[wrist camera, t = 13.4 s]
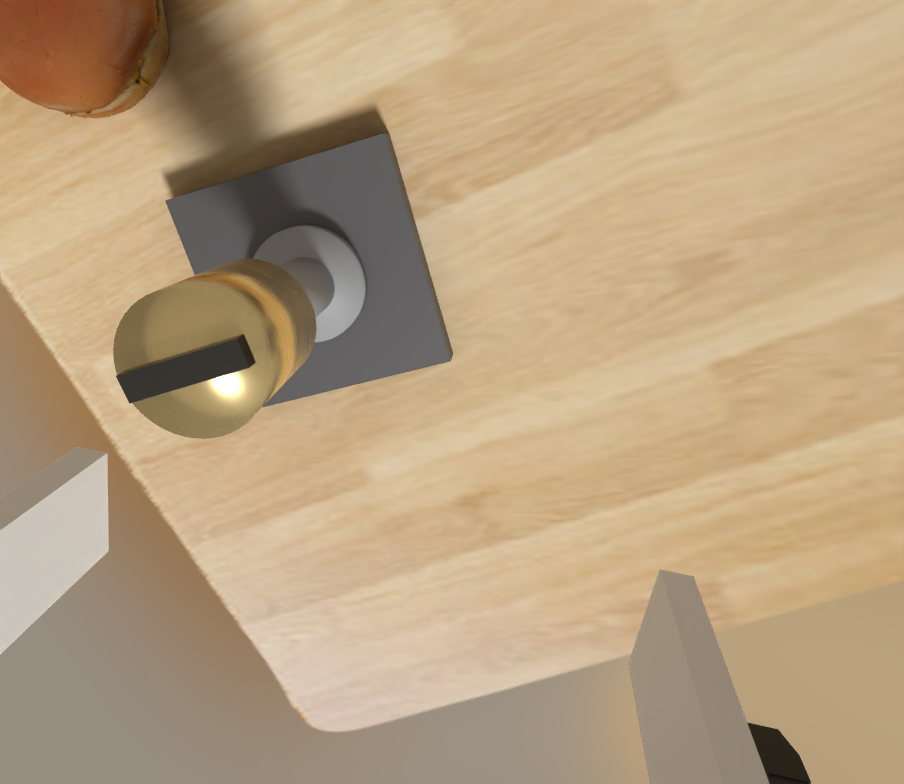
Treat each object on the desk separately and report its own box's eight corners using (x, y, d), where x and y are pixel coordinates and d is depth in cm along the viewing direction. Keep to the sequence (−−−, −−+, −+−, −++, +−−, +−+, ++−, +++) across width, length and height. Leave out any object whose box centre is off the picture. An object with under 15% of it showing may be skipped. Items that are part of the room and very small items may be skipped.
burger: (145, 148, 36) (94, 148, 32) (-22, 62, 35) (-97, 50, 31) (206, -47, 33) (159, -77, 28) (24, -146, 32) (-54, -193, 28)
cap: (288, 241, 27) (220, 270, 21) (334, 362, 28) (285, 423, 22) (172, 280, 28) (74, 318, 22) (223, 395, 29) (147, 462, 23)
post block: (389, 133, 35) (344, 129, 25) (453, 353, 38) (434, 420, 29) (178, 198, 37) (63, 216, 27) (258, 401, 40) (181, 478, 31)
